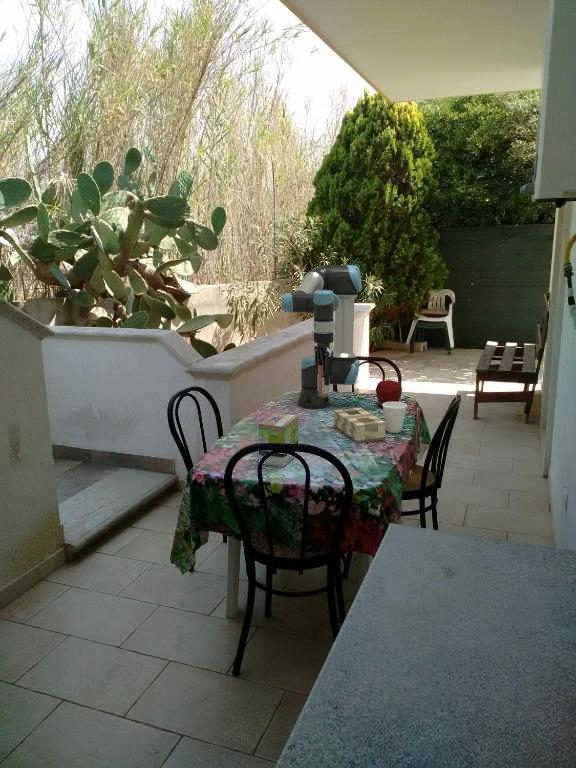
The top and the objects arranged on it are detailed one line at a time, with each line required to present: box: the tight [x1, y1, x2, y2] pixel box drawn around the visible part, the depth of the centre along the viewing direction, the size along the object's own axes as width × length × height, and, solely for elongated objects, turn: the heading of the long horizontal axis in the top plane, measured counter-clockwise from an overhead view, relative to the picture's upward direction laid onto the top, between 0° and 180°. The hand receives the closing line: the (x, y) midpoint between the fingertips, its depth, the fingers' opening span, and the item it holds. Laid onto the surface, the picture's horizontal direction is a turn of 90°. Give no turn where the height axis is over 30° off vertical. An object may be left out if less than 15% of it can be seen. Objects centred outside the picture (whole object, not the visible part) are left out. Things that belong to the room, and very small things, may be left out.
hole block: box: [333, 407, 386, 444], centre depth 234 cm, size 22×12×7 cm, turn 19°
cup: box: [381, 401, 408, 434], centre depth 236 cm, size 10×10×11 cm
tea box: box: [258, 412, 299, 468], centre depth 206 cm, size 15×10×15 cm
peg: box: [318, 365, 330, 397], centre depth 226 cm, size 4×4×12 cm
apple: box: [375, 379, 403, 406], centre depth 271 cm, size 12×12×13 cm
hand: (323, 391), depth 227 cm, fingers closed on peg, 4 cm apart
